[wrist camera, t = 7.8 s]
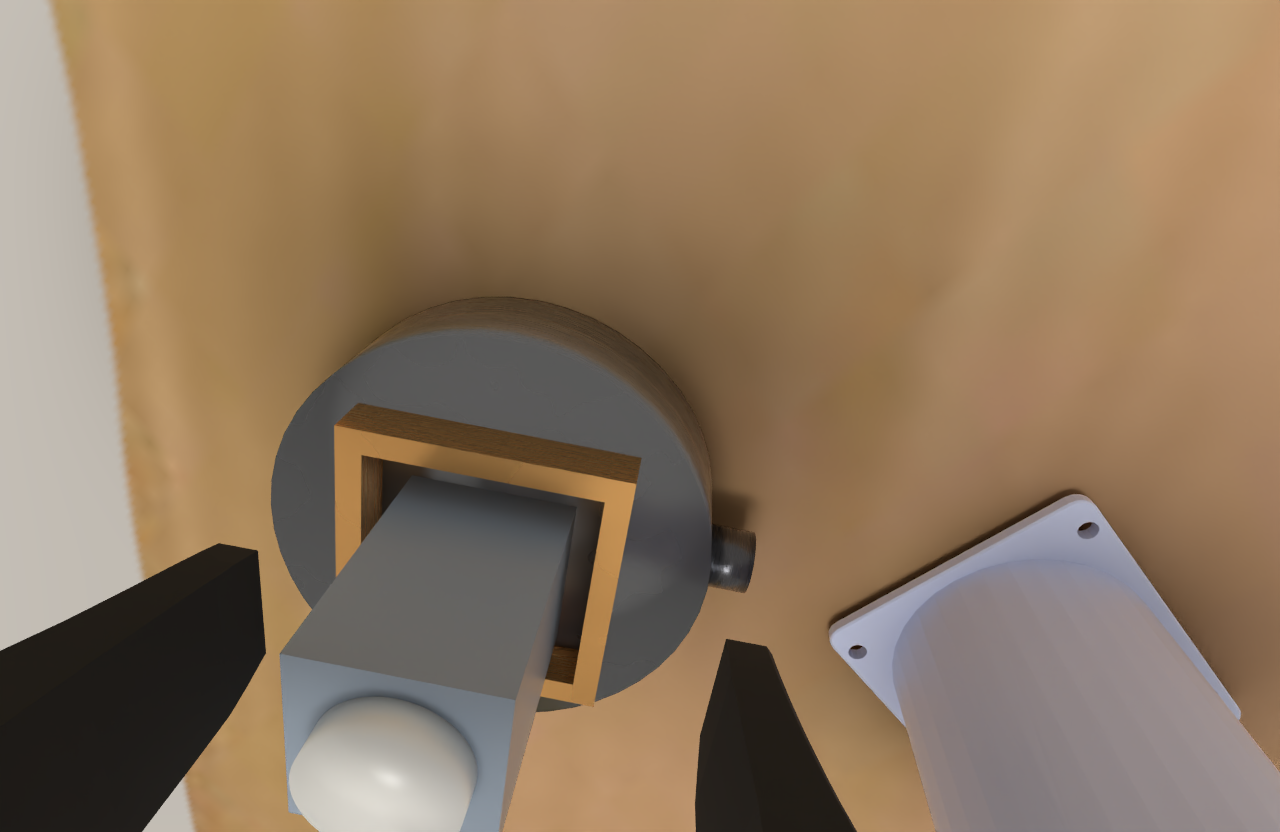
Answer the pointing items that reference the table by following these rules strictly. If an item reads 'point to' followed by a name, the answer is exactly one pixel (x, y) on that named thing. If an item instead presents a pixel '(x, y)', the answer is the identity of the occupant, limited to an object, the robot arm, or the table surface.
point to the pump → (426, 664)
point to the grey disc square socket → (523, 471)
